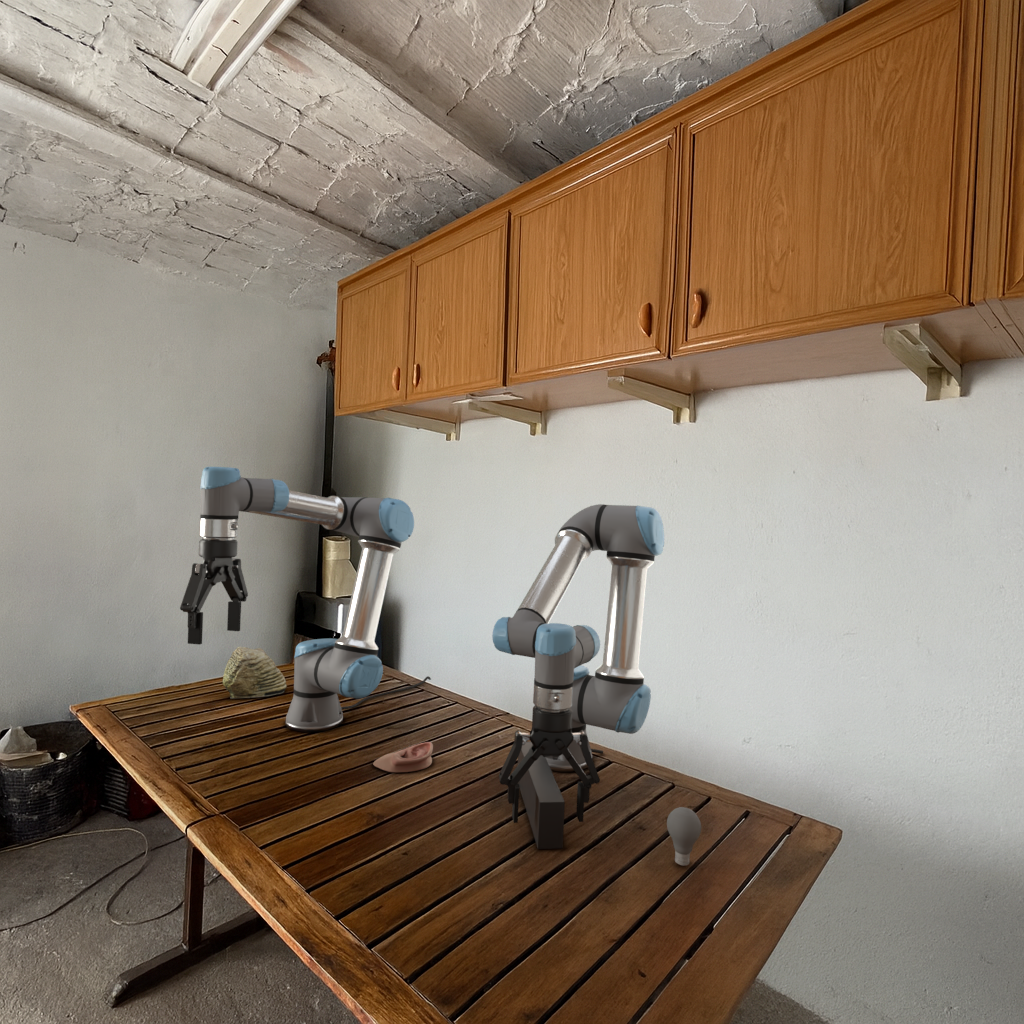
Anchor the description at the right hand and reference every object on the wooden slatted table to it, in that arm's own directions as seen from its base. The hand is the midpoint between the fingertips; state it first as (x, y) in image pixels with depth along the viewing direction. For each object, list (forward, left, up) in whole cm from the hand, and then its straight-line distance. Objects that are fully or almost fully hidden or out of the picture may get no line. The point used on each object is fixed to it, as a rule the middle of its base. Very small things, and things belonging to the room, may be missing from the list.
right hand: (547, 819), depth 121 cm
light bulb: (-18, +17, -4) cm, 25 cm away
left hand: (+57, -47, +28) cm, 79 cm away
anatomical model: (+15, -42, -4) cm, 45 cm away
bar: (-4, -10, -4) cm, 12 cm away
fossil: (+42, -108, -4) cm, 116 cm away
